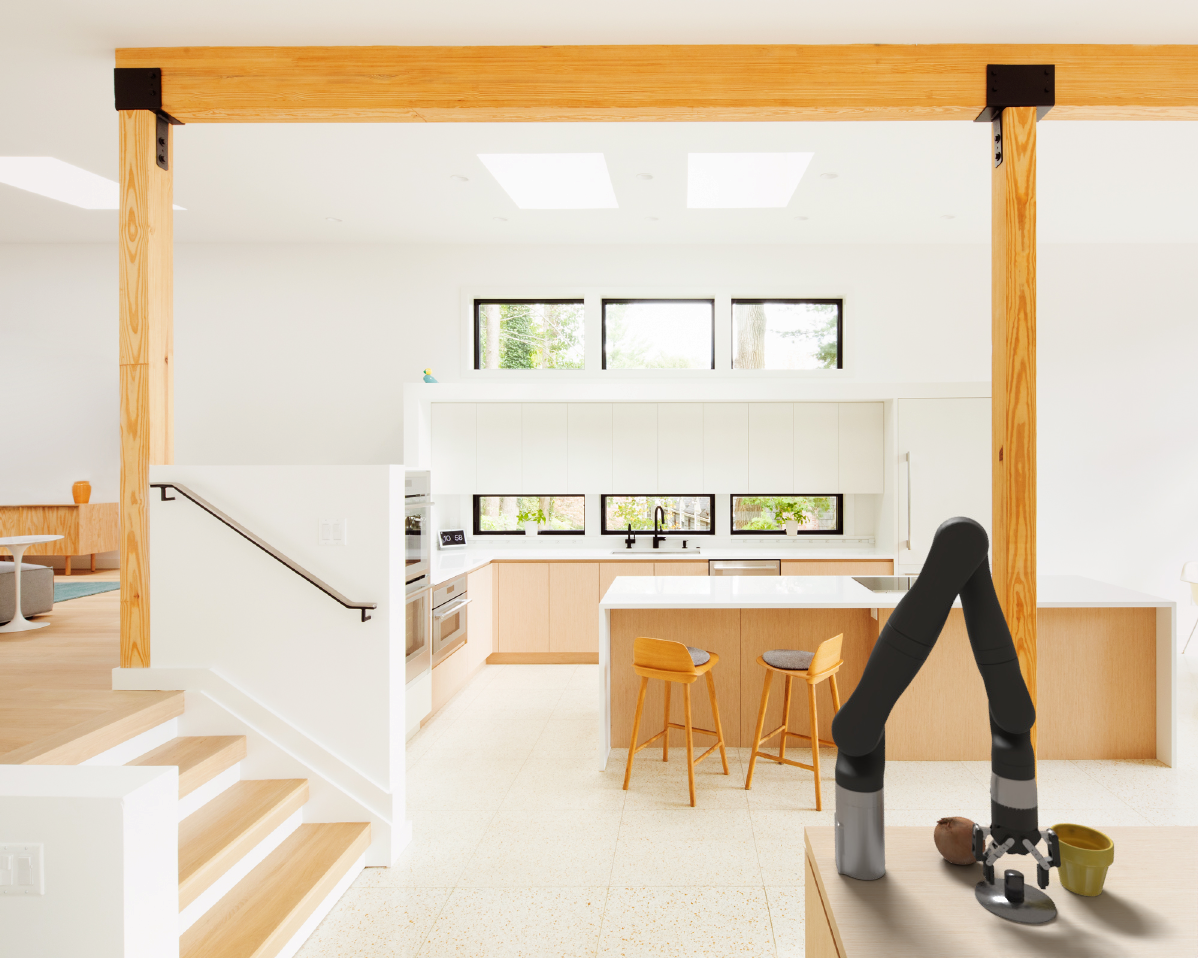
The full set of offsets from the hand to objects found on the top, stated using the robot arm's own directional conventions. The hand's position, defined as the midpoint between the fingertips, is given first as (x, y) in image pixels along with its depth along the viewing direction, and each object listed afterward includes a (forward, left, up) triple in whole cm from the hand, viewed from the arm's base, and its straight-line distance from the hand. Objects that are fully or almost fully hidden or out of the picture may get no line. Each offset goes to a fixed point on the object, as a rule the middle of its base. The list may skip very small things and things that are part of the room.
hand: (1016, 884), depth 134 cm
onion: (-6, +13, -3) cm, 15 cm away
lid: (0, 0, -4) cm, 4 cm away
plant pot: (+14, +7, -3) cm, 16 cm away
